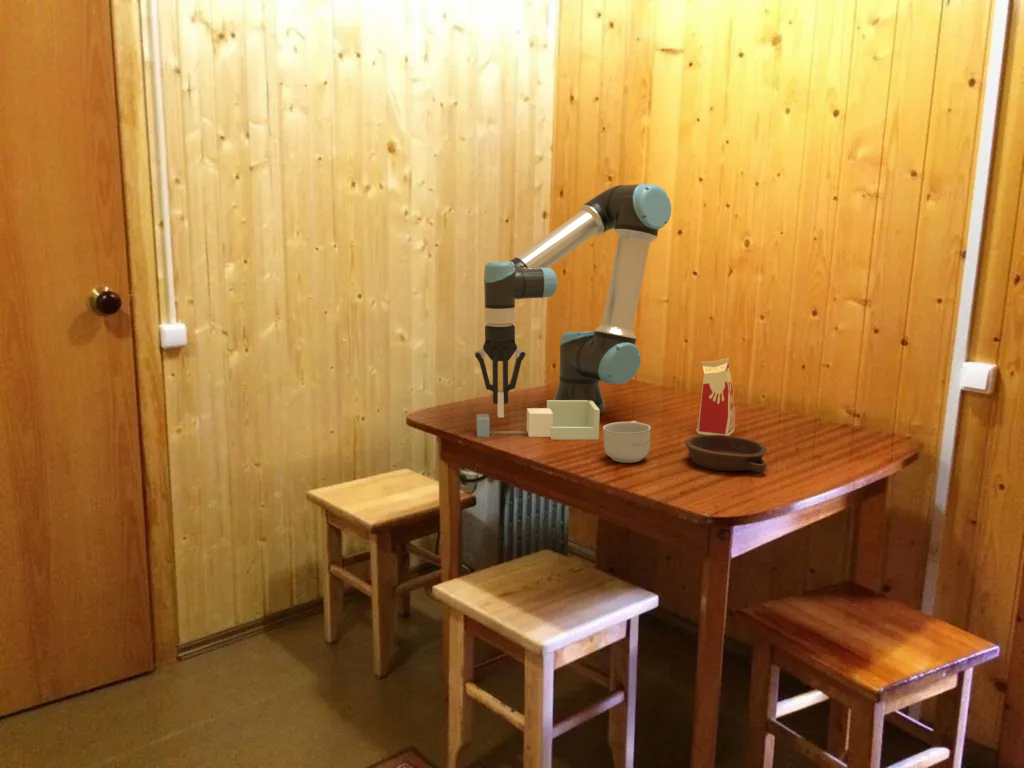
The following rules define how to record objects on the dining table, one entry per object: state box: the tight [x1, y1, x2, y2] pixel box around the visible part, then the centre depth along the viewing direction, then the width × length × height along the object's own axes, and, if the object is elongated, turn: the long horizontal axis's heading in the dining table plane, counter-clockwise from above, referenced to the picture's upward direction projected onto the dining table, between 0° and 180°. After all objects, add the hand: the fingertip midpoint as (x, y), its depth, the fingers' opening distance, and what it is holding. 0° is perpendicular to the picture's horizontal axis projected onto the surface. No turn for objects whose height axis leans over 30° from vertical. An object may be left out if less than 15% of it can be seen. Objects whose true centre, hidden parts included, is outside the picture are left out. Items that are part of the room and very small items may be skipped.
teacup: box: [602, 420, 652, 464], centre depth 187 cm, size 14×11×8 cm
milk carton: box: [695, 357, 736, 436], centre depth 211 cm, size 9×9×20 cm
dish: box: [684, 434, 768, 473], centre depth 184 cm, size 18×22×5 cm
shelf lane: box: [546, 399, 601, 441], centre depth 207 cm, size 12×11×8 cm
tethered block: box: [476, 407, 553, 438], centre depth 207 cm, size 19×6×6 cm, turn 94°
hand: (500, 416), depth 206 cm, fingers closed
